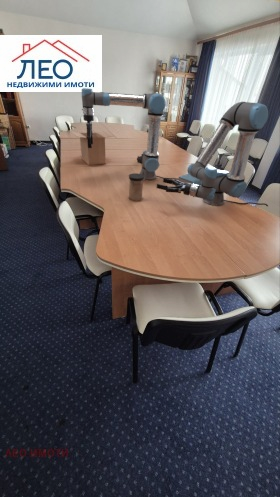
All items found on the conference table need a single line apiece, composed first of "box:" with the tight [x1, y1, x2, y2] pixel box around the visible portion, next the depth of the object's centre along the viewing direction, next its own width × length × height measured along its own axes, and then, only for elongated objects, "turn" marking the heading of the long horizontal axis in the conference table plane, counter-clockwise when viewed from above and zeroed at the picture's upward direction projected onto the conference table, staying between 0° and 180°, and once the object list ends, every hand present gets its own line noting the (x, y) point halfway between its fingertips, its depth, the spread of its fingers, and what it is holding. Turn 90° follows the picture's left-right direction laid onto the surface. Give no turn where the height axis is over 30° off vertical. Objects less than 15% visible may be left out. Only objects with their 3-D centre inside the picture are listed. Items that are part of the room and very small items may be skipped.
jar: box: [128, 179, 144, 202], centre depth 162 cm, size 10×10×16 cm
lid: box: [128, 172, 145, 181], centre depth 157 cm, size 11×11×2 cm
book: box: [178, 173, 202, 186], centre depth 200 cm, size 23×16×5 cm
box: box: [70, 129, 114, 166], centre depth 229 cm, size 44×36×27 cm
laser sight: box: [136, 153, 143, 164], centre depth 240 cm, size 10×22×10 cm, turn 78°
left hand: (90, 146), depth 173 cm, fingers open, 13 cm apart
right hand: (160, 183), depth 151 cm, fingers open, 13 cm apart
